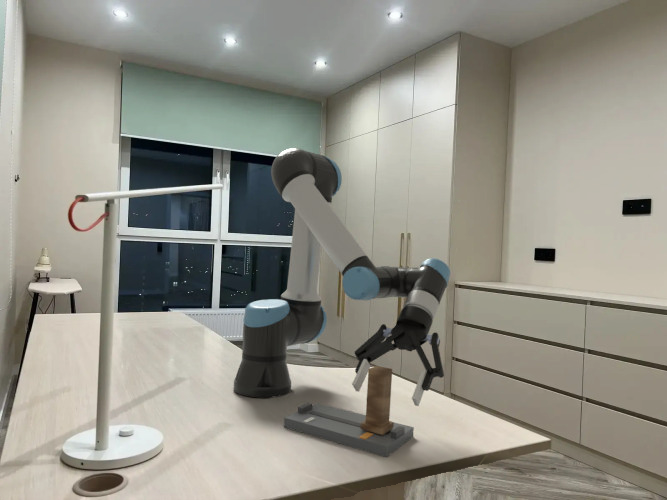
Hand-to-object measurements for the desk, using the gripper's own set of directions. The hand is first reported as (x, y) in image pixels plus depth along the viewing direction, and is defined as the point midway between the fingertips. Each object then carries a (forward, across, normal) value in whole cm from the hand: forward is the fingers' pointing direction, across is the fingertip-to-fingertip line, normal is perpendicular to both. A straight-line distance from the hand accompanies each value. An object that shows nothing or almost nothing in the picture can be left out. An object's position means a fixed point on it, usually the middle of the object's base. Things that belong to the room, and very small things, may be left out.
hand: (384, 395), depth 104 cm
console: (+7, +7, -6) cm, 12 cm away
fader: (+6, +1, -4) cm, 7 cm away
